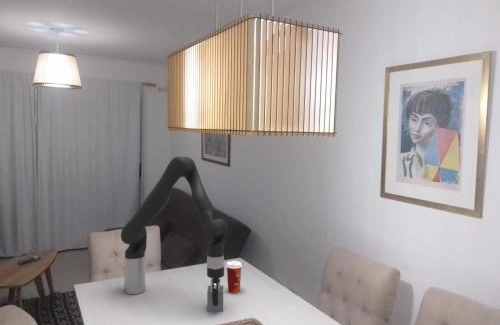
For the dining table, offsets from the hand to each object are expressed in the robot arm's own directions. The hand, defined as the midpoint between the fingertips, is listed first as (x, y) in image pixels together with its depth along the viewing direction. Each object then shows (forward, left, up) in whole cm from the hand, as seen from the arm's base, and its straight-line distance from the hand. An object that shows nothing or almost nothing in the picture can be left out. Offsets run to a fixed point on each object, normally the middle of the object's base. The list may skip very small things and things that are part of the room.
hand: (215, 301), depth 173 cm
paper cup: (-5, +19, -3) cm, 20 cm away
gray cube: (0, 0, -3) cm, 3 cm away
